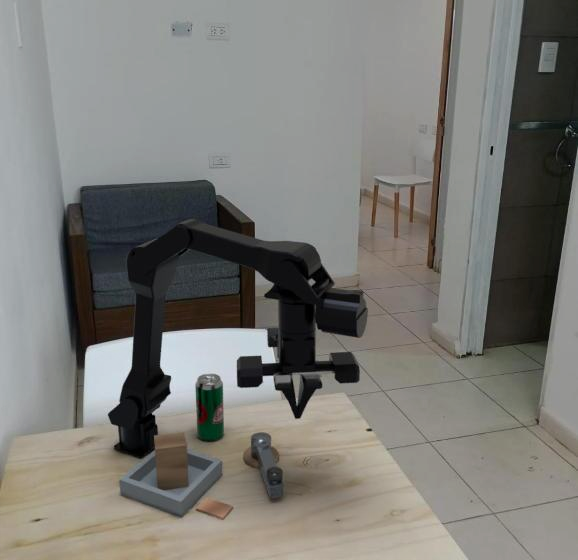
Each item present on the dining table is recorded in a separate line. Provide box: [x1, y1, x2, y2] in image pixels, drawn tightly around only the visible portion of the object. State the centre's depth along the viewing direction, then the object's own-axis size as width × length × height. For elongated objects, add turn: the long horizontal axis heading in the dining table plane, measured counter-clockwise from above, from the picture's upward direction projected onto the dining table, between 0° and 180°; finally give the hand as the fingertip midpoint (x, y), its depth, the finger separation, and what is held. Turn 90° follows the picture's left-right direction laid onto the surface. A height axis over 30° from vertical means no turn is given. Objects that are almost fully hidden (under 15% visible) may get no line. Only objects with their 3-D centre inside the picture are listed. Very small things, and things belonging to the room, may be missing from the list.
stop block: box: [154, 431, 189, 490], centre depth 102 cm, size 4×5×8 cm
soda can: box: [194, 373, 225, 442], centre depth 116 cm, size 5×5×12 cm
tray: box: [118, 448, 223, 519], centre depth 103 cm, size 12×12×3 cm
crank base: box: [195, 445, 280, 520], centre depth 105 cm, size 6×20×1 cm, turn 154°
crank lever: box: [250, 431, 285, 499], centre depth 105 cm, size 14×4×4 cm, turn 14°
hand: (297, 417), depth 99 cm, fingers closed
